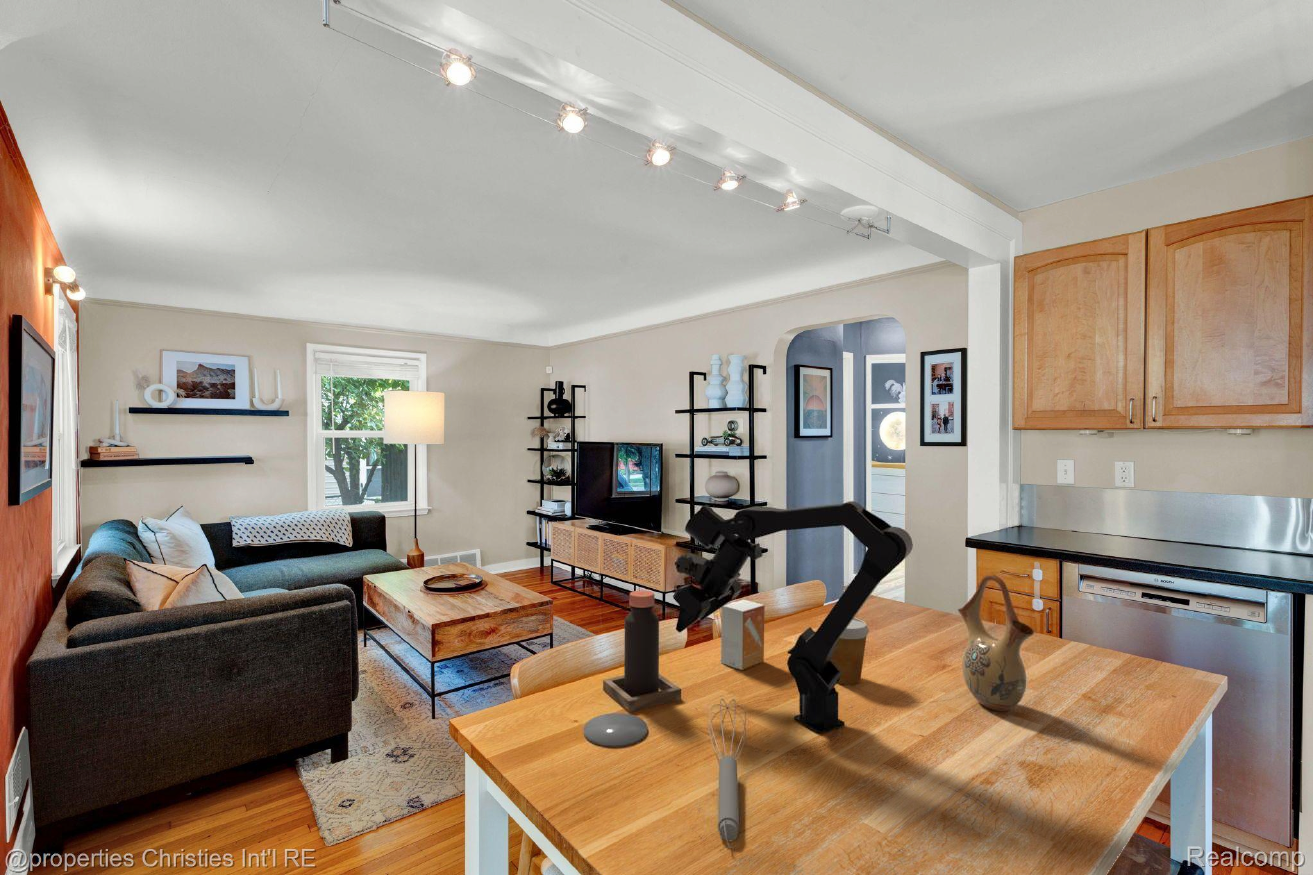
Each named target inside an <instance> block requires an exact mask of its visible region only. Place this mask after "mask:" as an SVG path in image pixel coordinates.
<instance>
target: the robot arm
mask: <svg viewBox="0 0 1313 875" xmlns="http://www.w3.org/2000/svg"><path fill="white" fill-rule="evenodd" d="M840 526H843V527H844V528H846V529H847V530H848V531H849V532H850V534H851V533H852V535H853V536H854V537H855V538H856V539H857V540H858V541H859V542H860V543H861V544H862V545H863V546H865V548H867V549H866V552H865V554H864V556H863V557H862V558H863V559H862V562H861V565H860V568H859V569H858V572H856V574H855V576H854V577H853V579H852V580H851V581H850V583H849V585H848V586H847V587H846V589H845V590H844V591H843V593H842V594H841V595H840V597H839V598H838V600H837V602H836V603H835V604H834V606H833V607H832V609H831V610H830V611H829V613H828V614H827V616H826V617H825V619H824V620H823V621H822V623H821V624H820V625H819V627H818V628H817V629H816V631H815V630H814V629H813V628H812V627H811V626H809V627H808V628H807V629H805V630H804V631H803V632H802V633H801V634H800V635H799V636H798V637H797V639H796V642H795V645H794V646H792V647H791V648H790V649H789V650H788V651H787V654H789V656H788V658H787V660H786V661H787V663H786V664H787V668H788V671H789V673H790V675H791V677H793V679H794V682H795V684H796V687H797V691H798V694H799V700H798V702H799V706H798V707H799V712H798V713H800V714H796V715H793V719H794V720H795V721H796V722H798V723H800V724H801V725H803V726H805V727H806V728H808V729H810V730H812V731H813V732H815V733H816V734H823V733H825V732H829V731H832V730H836V729H838V728H842V727H844V726H845V725H846V722H845V721H843V720H842V719H840V718H839V692H838V691H837V689H836V688H835V686H836V685H838V684H839V683H838V682H839V680H840V677H841V675H842V673H841V671H840V670H839V669H838V668H837V667H836V665H835V664H834V663H833V662H832V661H831V660H830V659H831V657H832V655H833V653H834V650H835V647H836V644H837V642H838V639H839V638H840V636H841V635H842V634H843V632H844V631H845V629H846V628H847V627H848V625H849V624H850V623H851V621H852V620H853V618H856V616H857V614H858V613H859V612H860V610H861V609H862V607H863V606H864V604H865V603H866V602H867V600H869V598H870V596H871V595H872V593H873V592H874V591H875V590H876V588H877V586H878V585H879V584H880V583H881V581H882V580H883V579H884V578H885V577H887V576H888V575H889V574H890V573H892V571H893V570H894V569H895V568H897V567H898V566H899V565H900V564H901V563H902V562H904V560H905V559H907V557H908V556H909V555H910V554H911V552H912V550H913V546H914V545H913V540H912V537H911V536H910V535H911V534H909V533H908V532H907V531H906V530H905V529H904V528H902V527H900V526H899V527H898V526H893V525H891V524H889V523H888V522H887V521H885V520H884V519H882V518H881V517H879V516H877V515H876V514H874V513H872V512H871V511H870V510H867V509H866V508H865V507H864V506H862V505H861V504H860V503H859V502H857V501H853V500H851V501H847V502H842V503H834V504H828V505H827V504H824V505H823V504H822V505H816V506H815V505H814V506H806V507H797V508H787V509H785V508H779V507H778V508H777V507H768V506H758V505H757V506H756V505H755V506H751V507H748V508H743V509H741V510H738V511H737V512H735V514H734V516H733V517H731V518H728V519H726V518H724V517H723V516H721V515H720V514H718V513H717V512H716V511H714V510H713V508H712V507H711V506H710V505H708V504H706V505H702V506H701V507H700V509H699V510H697V511H696V512H695V513H694V514H693V516H691V518H688V520H687V522H686V525H685V528H684V531H685V533H687V534H688V535H689V536H690V537H692V538H694V540H695V541H696V542H698V543H700V545H702V546H703V547H704V548H705V549H708V550H709V549H710V548H712V547H713V548H714V549H715V548H717V550H716V552H715V554H714V555H713V557H712V558H711V559H708V558H706V557H703V556H700V555H697V554H695V553H691V552H686V553H684V554H681V555H679V557H677V558H676V561H675V562H674V565H675V570H676V572H677V573H679V574H684V575H686V576H687V575H688V576H690V577H692V578H693V580H692V581H693V582H694V583H695V584H696V585H699V587H700V589H701V590H699V589H698V588H697V587H695V586H694V585H693V584H692V583H690V584H685V585H682V586H680V587H677V588H676V590H675V592H674V593H673V595H672V598H673V600H674V601H675V602H676V603H677V604H678V605H679V612H678V618H677V621H676V627H675V630H676V632H678V633H679V634H680V633H682V632H683V631H685V630H686V629H688V628H689V627H690V626H692V625H693V624H694V623H696V622H697V621H698V620H700V621H703V620H705V619H706V618H707V617H709V616H711V615H712V614H714V613H715V612H717V611H718V610H719V609H721V608H722V607H723V606H724V605H727V604H730V603H731V601H733V600H734V599H735V598H737V597H738V596H739V594H740V593H741V591H742V585H741V582H740V581H738V579H740V577H741V575H742V574H741V573H740V571H741V570H742V568H743V567H744V565H745V564H746V562H747V561H748V559H749V558H750V559H752V560H753V561H755V560H758V559H760V558H762V557H763V553H762V550H761V547H760V546H761V544H760V543H752V542H751V540H755V539H758V538H761V537H765V536H768V535H772V534H775V533H779V532H782V531H793V530H806V529H817V528H829V527H840ZM730 592H731V593H730Z"/></svg>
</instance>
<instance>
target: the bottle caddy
mask: <svg viewBox="0 0 1313 875" xmlns="http://www.w3.org/2000/svg"><path fill="white" fill-rule="evenodd" d="M602 690H603V692H605V693H606V694H607V695H608V696H610V697H611V698H612V699H613V700H614V701H615V702H617V703H618V704H619V705H620V706H621V707H622V708H623V709H625V710H626V711H627V712H628V713H631V712H634V711H635V712H636V711H639V710H643V709H648V708H651V707H654V706H659V705H663V704H667V703H668V704H669V703H671V702H676V701H680V700H682V688H680V687H679V686H678V685H676V684H675V683H673V682H672V681H670V680H669V679H667V677H665V676H663V675H662V674H660V673H659V691H658V692H653V693H649V694H645V695H641V696H636V697H630V696H629V695H628V694H627V693H626V692H624V675H621V676H615V677H610V678H606V679H603V680H602Z"/></svg>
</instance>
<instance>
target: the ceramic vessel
mask: <svg viewBox="0 0 1313 875" xmlns="http://www.w3.org/2000/svg"><path fill="white" fill-rule="evenodd" d="M989 581H992V582H995V583H996V584H997V585H998V586H999V589H1000V591H1001V594H1002V598H1003V602H1004V608H1005V609H1004V610H1005V618H1006V621H1005V623H1006V624H1005V631H1004V635H1003V637H1002V638H1001V639H998V638H995V637H993V636H992V635H991V634H989V632H988V631H987V630H986V627H985V626H984V623H983V621H982V618H981V608H982V602H983V598H984V593H985V590H986V587H987V584H988V583H989ZM957 611H958V613H959V614H960V616H961V617H962V619H963V621H964V623H965V624H966V628H967V631H968V632H967V634H968V643H967V645H966V648H965V649H964V653H963V655H962V661H961V662H962V664H961V666H962V676H963V679H964V681H965V684H966V688H968V690H969V692H970V693H971V695H972V696H973V698H974V699H975V700H976V701H978V703H979V704H980V705H982V706H983V707H985V708H987V709H990V710H993V711H997V712H1006V711H1009V710H1011V709H1014V708H1015V707H1016V706H1017V705H1018V704H1019V703H1020V702H1021V700H1022V699H1023V697H1024V695H1025V693H1026V688H1027V673H1026V668H1025V665H1024V662H1023V660H1022V657H1021V654H1020V652H1021V648H1022V645H1023V643H1024V642H1025V641H1026V640H1028V639H1029V638H1031V637H1032V636H1033V635H1034V633H1035V632H1034V629H1033V628H1032V627H1031V626H1029V625H1028V624H1026V623H1025V622H1022V621H1020V620H1019V618H1018V615H1017V614H1016V611H1015V609H1014V606H1013V603H1012V600H1011V596H1010V592H1009V589H1008V587H1007V584H1006V583H1005V581H1004V580H1003V579H1002V578H1001V577H999V576H998V575H996V574H987V575H985V576H983V578H982V579H981V580H980V583H979V585H978V587H977V589H976V591H975V592H974V594H973V595H972V597H971V598H970V599H969V601H967V602H966V603H965V604H964V606H962V607H959V608H958V609H957Z"/></svg>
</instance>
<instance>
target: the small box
mask: <svg viewBox="0 0 1313 875" xmlns="http://www.w3.org/2000/svg"><path fill="white" fill-rule="evenodd" d="M765 607H766V606H765V604H762V603H758V602H754V601H751V600H747V599H741V600H737V601H733V602H729V603H727V604H726V605H724V606H723V607H721V608H720V609H721V611H720V612H721V619H720V620H721V626H720V627H721V628H720V630H721V631H720V640H721V641H720V647H721V648H720V663H721V664H723V665H726V666H729V667H732V668H734V669H737V670H741V671H744V670H745V669H748V668H750V667H753V666H756V665H758V664H760V663H763V662H765V610H766V609H765Z"/></svg>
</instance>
